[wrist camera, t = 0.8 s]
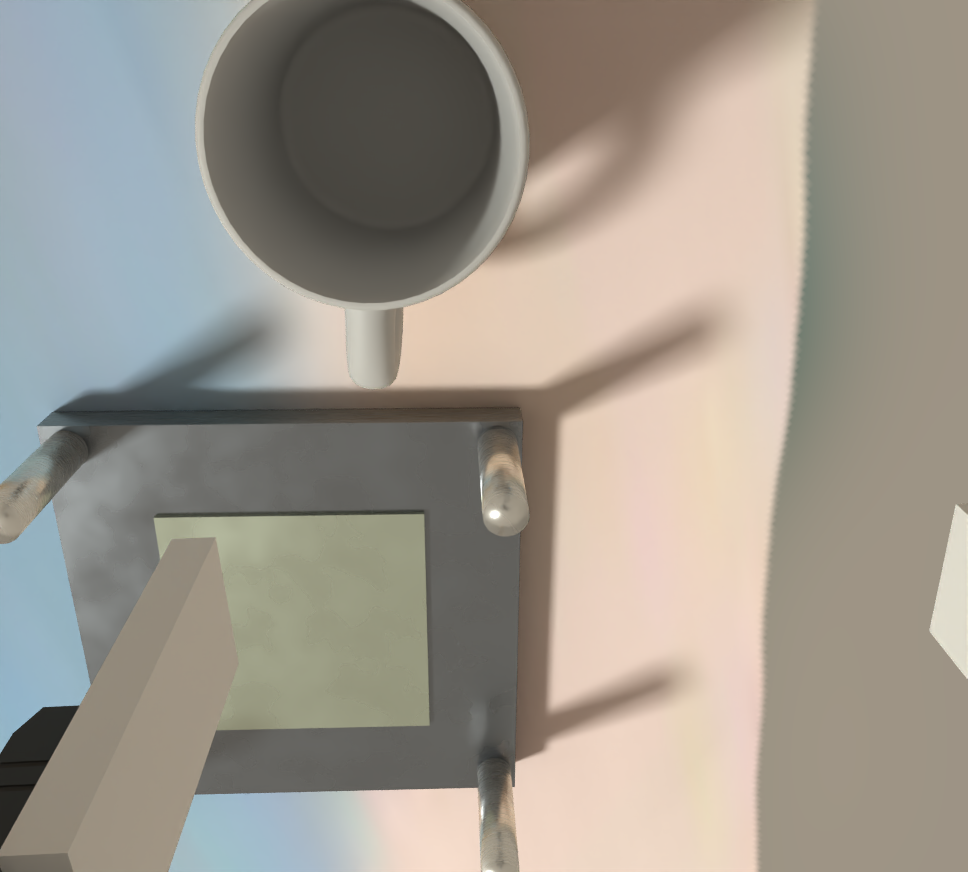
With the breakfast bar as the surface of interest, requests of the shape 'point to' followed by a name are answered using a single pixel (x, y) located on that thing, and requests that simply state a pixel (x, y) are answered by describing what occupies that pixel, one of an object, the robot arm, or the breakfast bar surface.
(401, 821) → the breakfast bar surface
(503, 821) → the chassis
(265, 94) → the mug
